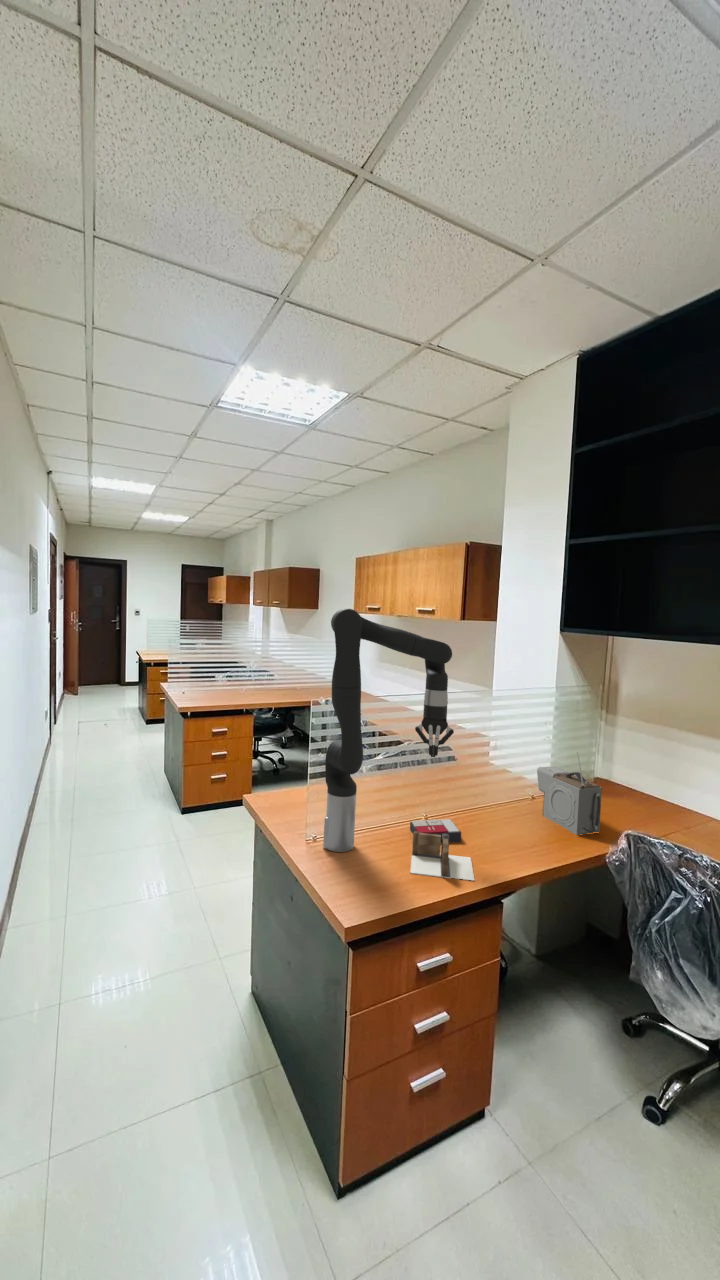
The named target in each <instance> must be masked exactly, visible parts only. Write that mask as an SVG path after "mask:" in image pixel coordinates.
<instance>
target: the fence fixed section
mask: <svg viewBox="0 0 720 1280" xmlns="http://www.w3.org/2000/svg"><path fill="white" fill-rule="evenodd" d="M443 838H446V839H448V852H449V851H450V849H449V848H450V842H449V834H442V842H441V835H436V834H426V833H419V832H417V831H414V832H413V834H412V849H411V850H412V852H411V855H412V854H413V855H418V854H426V855H435V856H440V854H441V858H442V851H443Z"/></svg>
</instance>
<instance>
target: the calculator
mask: <svg viewBox="0 0 720 1280" xmlns="http://www.w3.org/2000/svg"><path fill="white" fill-rule="evenodd" d="M409 830H410V832H411V834H412V833H413V832H414V831H417V832H419V833H426V834H436V835H441V842H440V843H442V834H449V843H461V842H462V831H461V830H460V828H458V826H457V825H456V824H455V822H453V820H452V819H451V818H450V819H449V818H448V819H445V818H444V819H439V818H437V819H435V818H434V819H426V820H424V819H420V820H411V821H410V822H409Z"/></svg>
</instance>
